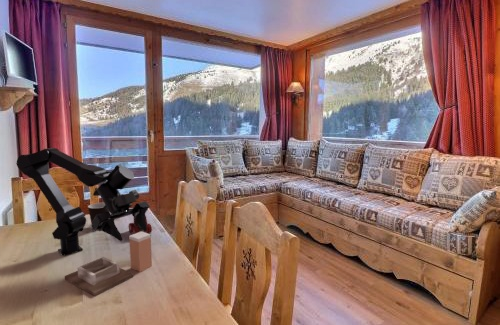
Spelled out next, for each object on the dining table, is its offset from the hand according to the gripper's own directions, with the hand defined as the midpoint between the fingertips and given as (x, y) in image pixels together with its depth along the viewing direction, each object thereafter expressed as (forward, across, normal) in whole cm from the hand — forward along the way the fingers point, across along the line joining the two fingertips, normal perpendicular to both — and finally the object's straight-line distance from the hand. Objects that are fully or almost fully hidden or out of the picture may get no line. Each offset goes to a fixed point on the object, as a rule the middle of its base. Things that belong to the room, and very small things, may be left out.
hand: (134, 235), depth 96 cm
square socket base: (+6, -11, +9) cm, 15 cm away
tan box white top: (+9, 0, +5) cm, 11 cm away
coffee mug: (-24, +14, +38) cm, 47 cm away
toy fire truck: (-8, +19, +23) cm, 31 cm away
